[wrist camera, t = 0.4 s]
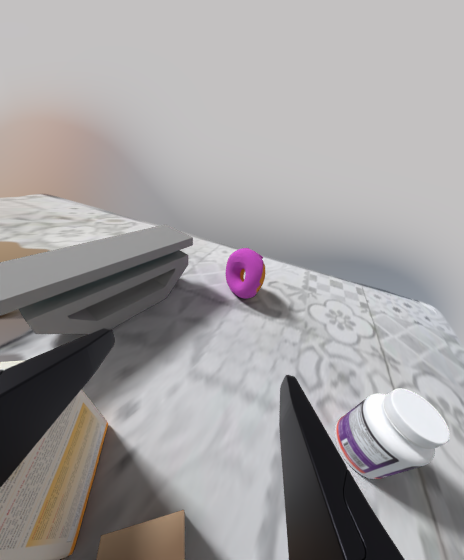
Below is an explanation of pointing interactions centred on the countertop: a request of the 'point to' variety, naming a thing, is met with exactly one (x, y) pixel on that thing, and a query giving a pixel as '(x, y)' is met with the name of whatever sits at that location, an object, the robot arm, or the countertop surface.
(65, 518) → the supplement box
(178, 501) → the countertop surface
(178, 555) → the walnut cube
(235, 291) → the donut
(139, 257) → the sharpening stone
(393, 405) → the pill bottle
